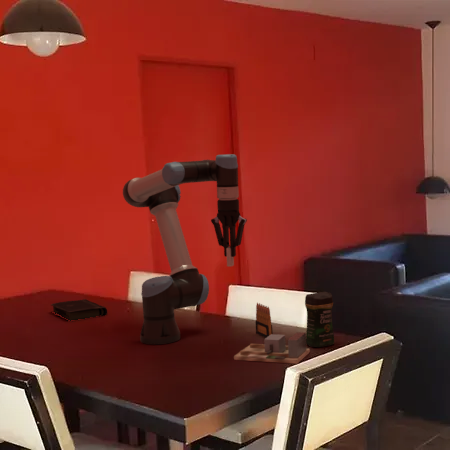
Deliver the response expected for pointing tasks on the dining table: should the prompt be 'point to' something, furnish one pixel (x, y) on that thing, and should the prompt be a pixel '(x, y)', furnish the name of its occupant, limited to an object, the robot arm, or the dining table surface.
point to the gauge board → (258, 354)
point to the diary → (78, 309)
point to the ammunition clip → (263, 321)
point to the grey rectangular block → (275, 343)
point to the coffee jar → (319, 319)
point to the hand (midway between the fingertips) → (230, 265)
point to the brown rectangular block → (297, 345)
